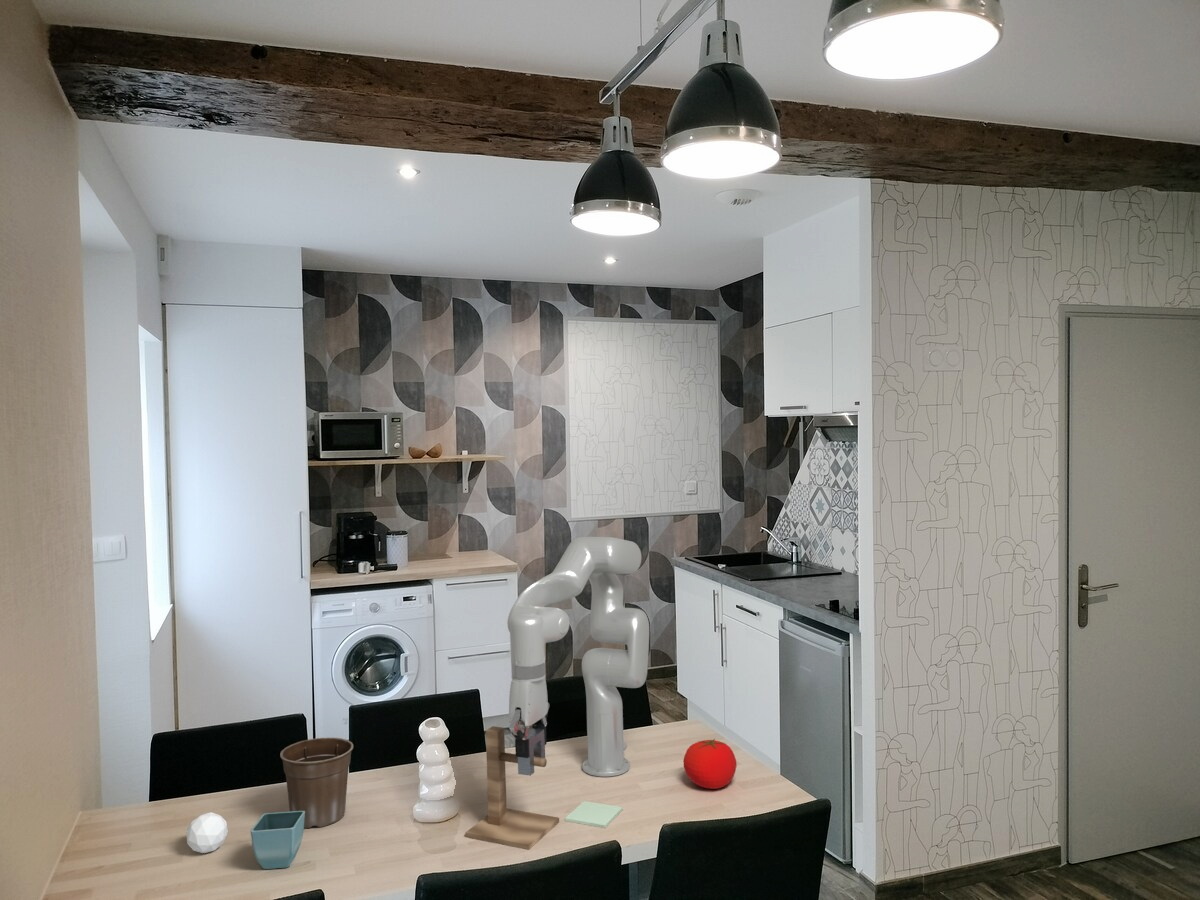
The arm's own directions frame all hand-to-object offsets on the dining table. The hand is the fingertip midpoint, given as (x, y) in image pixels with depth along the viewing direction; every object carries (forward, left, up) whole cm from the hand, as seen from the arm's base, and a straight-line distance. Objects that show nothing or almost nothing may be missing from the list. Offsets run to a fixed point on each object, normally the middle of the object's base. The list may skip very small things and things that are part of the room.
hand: (531, 749), depth 185 cm
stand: (0, -5, -18) cm, 19 cm away
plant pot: (+11, -51, -18) cm, 55 cm away
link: (0, 0, -4) cm, 4 cm away
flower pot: (+31, -43, -18) cm, 56 cm away
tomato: (-39, +29, -18) cm, 52 cm away
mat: (-13, +9, -18) cm, 24 cm away
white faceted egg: (+32, -64, -19) cm, 74 cm away
